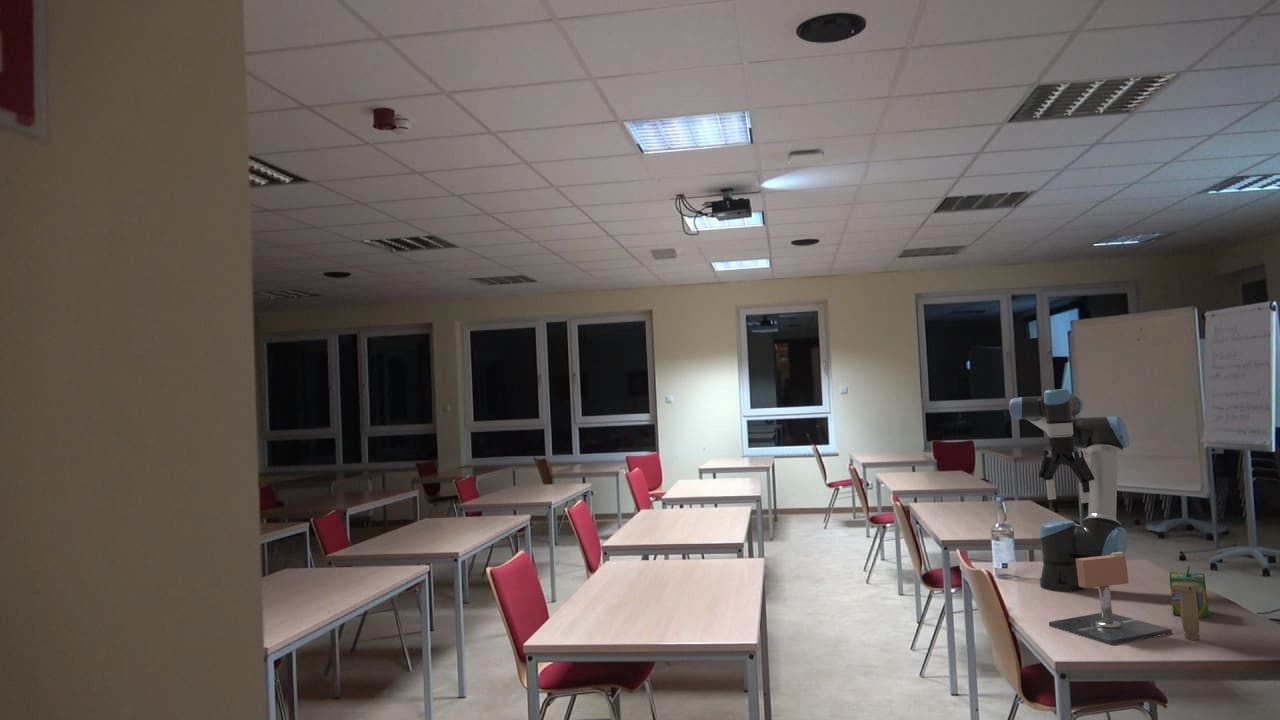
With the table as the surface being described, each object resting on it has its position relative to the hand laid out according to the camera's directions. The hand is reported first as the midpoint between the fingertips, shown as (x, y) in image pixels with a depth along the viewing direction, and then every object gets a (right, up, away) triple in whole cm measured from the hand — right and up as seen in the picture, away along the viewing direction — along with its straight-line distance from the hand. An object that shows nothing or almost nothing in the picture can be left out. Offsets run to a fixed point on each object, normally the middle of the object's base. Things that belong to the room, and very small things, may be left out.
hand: (1068, 501), depth 253 cm
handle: (+13, -31, -39) cm, 52 cm away
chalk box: (+29, -32, -16) cm, 46 cm away
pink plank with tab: (-3, -20, -25) cm, 32 cm away
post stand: (-2, -33, -26) cm, 42 cm away
